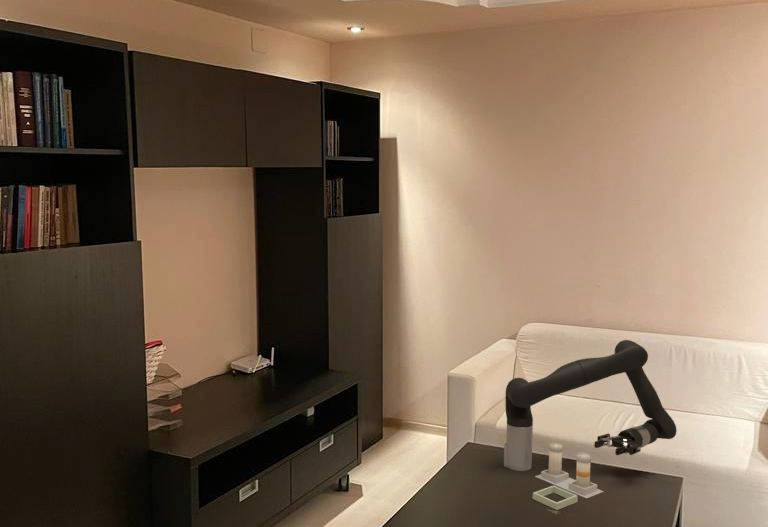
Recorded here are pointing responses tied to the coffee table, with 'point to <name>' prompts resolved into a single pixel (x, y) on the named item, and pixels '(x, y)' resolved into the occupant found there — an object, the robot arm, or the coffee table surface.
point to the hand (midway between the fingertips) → (605, 448)
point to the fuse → (555, 458)
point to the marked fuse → (583, 470)
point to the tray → (555, 505)
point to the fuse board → (569, 484)
